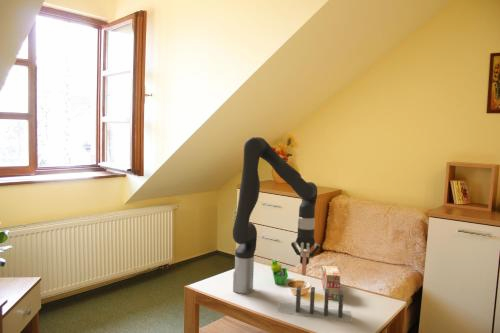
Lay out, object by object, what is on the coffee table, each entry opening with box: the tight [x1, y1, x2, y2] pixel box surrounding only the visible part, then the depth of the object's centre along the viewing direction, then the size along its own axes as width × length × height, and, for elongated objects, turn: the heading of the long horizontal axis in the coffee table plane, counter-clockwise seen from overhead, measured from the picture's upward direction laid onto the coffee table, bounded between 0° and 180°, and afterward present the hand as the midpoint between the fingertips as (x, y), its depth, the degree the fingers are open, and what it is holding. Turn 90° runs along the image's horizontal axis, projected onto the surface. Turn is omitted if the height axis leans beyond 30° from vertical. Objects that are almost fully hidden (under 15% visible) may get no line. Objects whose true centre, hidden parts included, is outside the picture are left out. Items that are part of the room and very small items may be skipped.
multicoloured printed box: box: [321, 265, 341, 301], centre depth 193 cm, size 21×6×12 cm, turn 175°
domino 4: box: [323, 288, 330, 316], centre depth 168 cm, size 2×5×10 cm, turn 168°
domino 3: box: [309, 286, 316, 314], centre depth 170 cm, size 2×5×10 cm, turn 168°
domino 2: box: [301, 250, 307, 276], centre depth 176 cm, size 2×5×10 cm, turn 168°
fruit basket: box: [270, 259, 289, 285], centre depth 205 cm, size 11×9×11 cm
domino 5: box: [337, 289, 344, 318], centre depth 167 cm, size 2×5×10 cm, turn 168°
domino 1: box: [295, 285, 302, 313], centre depth 171 cm, size 2×5×10 cm, turn 168°
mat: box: [277, 302, 352, 323], centre depth 170 cm, size 31×10×1 cm, turn 78°
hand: (304, 264), depth 177 cm, fingers closed on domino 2, 1 cm apart
